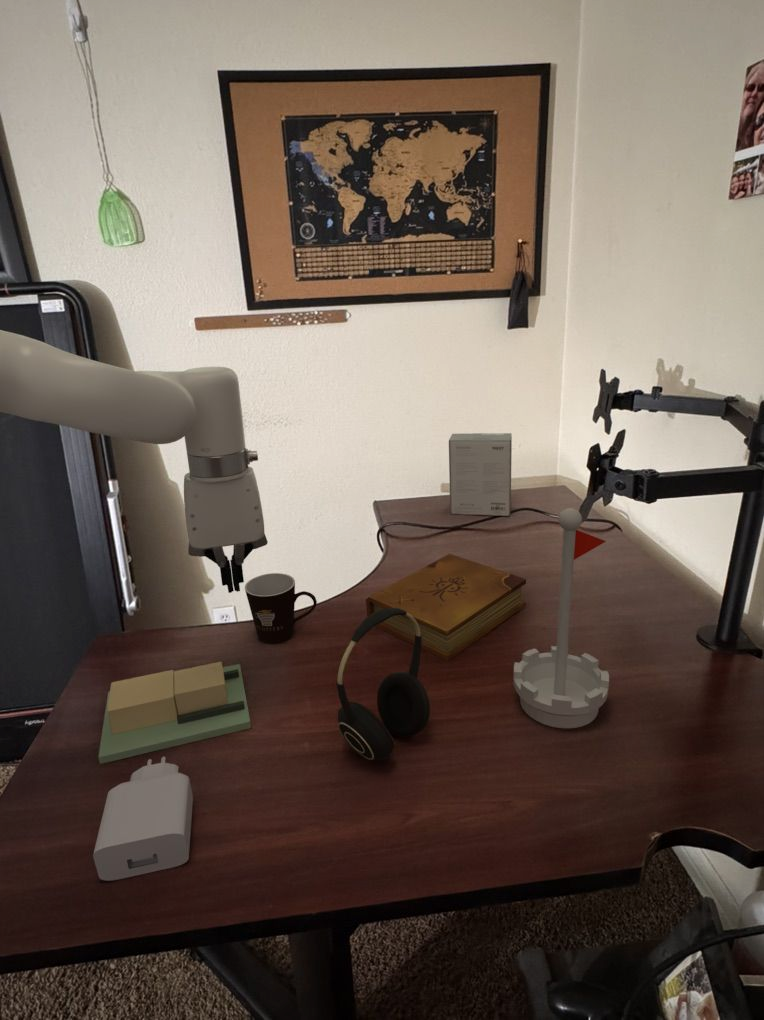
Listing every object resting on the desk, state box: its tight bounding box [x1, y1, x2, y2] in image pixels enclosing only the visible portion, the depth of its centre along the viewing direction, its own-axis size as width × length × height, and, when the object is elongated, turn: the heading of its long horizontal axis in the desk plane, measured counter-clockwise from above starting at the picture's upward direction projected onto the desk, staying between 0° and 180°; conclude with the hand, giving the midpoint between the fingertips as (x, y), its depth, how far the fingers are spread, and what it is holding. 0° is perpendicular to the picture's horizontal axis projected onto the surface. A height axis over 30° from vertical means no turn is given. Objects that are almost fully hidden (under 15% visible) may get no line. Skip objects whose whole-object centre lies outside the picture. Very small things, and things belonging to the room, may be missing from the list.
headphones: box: [336, 608, 431, 761], centre depth 81 cm, size 9×15×20 cm, turn 135°
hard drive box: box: [448, 432, 513, 517], centre depth 161 cm, size 16×8×20 cm, turn 77°
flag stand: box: [512, 507, 610, 729], centre depth 86 cm, size 13×13×30 cm
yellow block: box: [174, 661, 228, 715], centre depth 93 cm, size 7×6×4 cm
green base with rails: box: [98, 663, 252, 765], centre depth 92 cm, size 20×15×5 cm
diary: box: [365, 553, 527, 662], centre depth 115 cm, size 23×19×6 cm
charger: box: [92, 756, 194, 882], centre depth 74 cm, size 5×9×15 cm
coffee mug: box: [244, 572, 318, 645], centre depth 109 cm, size 12×9×10 cm
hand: (233, 587), depth 89 cm, fingers closed
